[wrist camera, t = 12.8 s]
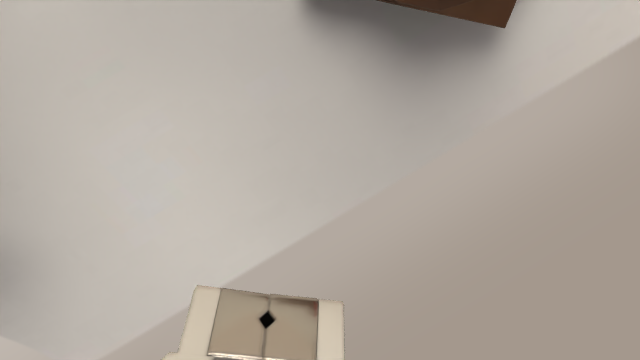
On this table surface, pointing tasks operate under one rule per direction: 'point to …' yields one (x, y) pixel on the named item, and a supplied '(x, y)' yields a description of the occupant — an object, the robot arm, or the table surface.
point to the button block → (465, 9)
